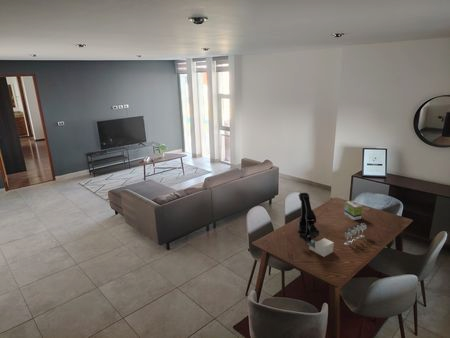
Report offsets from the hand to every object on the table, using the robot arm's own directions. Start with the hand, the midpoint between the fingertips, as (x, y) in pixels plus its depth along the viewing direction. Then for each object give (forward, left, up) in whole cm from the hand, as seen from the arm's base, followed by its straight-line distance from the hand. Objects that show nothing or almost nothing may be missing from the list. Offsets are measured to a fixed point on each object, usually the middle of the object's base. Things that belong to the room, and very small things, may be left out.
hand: (308, 242), depth 271 cm
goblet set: (+21, +38, -2) cm, 43 cm away
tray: (+8, 0, -2) cm, 8 cm away
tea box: (-7, +78, -2) cm, 78 cm away
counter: (+14, 0, -2) cm, 14 cm away
